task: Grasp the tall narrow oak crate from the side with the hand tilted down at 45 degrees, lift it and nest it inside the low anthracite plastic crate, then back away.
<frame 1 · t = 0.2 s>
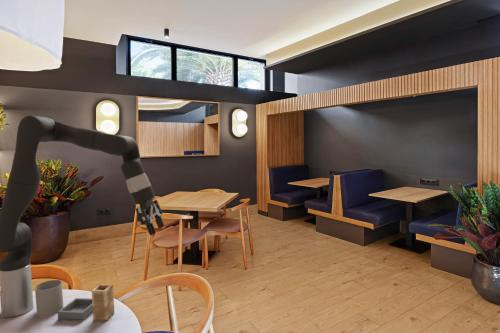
hand: (157, 230, 106), 31 cm above the table, tool tilted 20°, fingers open, 8 cm apart
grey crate: (79, 312, 110), on the table
cup: (50, 310, 113), on the table
oak crate: (104, 316, 107), on the table
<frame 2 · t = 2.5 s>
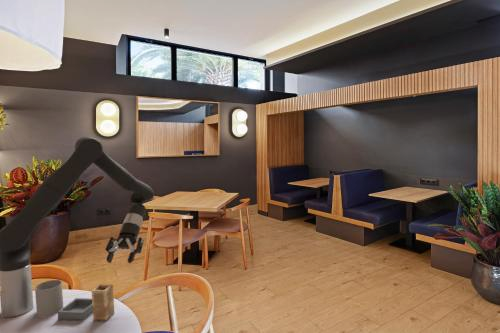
hand: (119, 262, 117), 16 cm above the table, tool tilted 45°, fingers open, 8 cm apart
nothing on the table moved.
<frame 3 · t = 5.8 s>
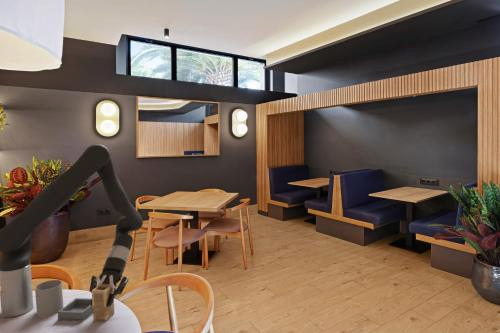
hand: (100, 305, 105), 5 cm above the table, tool tilted 45°, fingers closed on oak crate, 5 cm apart
oak crate: (104, 316, 107), on the table, touching gripper
everything else where it was.
when the fingers open (7 cm above the table, at t = 10.2 s): oak crate stays where it is, resting on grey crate.
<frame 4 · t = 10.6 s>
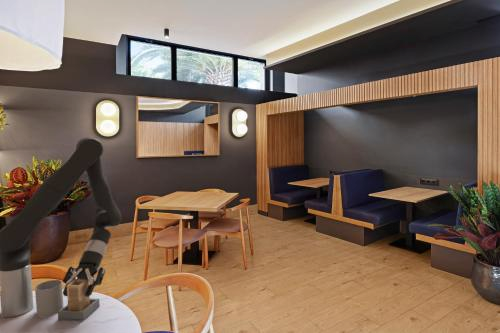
hand: (76, 295, 108), 7 cm above the table, tool tilted 45°, fingers open, 8 cm apart
oak crate: (79, 311, 110), point 1 cm above the table, touching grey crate
everything else where it was.
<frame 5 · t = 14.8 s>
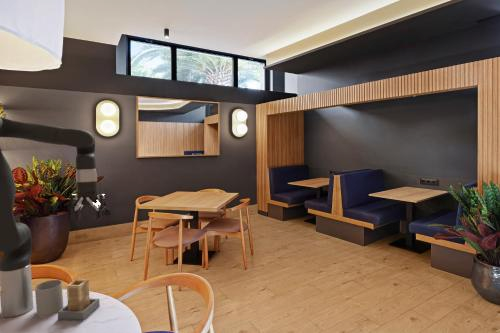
hand: (89, 219, 121), 32 cm above the table, tool pointing down, fingers open, 8 cm apart
nothing on the table moved.
at the end: oak crate 0.1 cm off-centre on the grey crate, point 0.6 cm above the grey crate's base; oak crate tilted 0°; the gripper is holding nothing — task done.
